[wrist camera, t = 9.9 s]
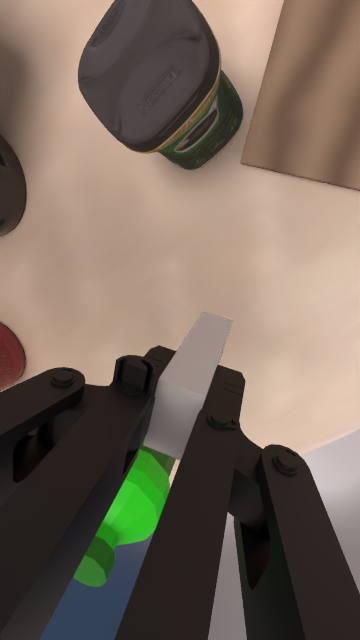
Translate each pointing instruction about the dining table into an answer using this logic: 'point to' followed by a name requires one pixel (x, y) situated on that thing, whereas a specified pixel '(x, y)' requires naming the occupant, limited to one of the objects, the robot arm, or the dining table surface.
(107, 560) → the plastic bottle
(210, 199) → the dining table surface
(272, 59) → the cutting board
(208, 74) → the coffee jar
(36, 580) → the robot arm
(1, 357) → the canister
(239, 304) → the dining table surface
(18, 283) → the dining table surface
